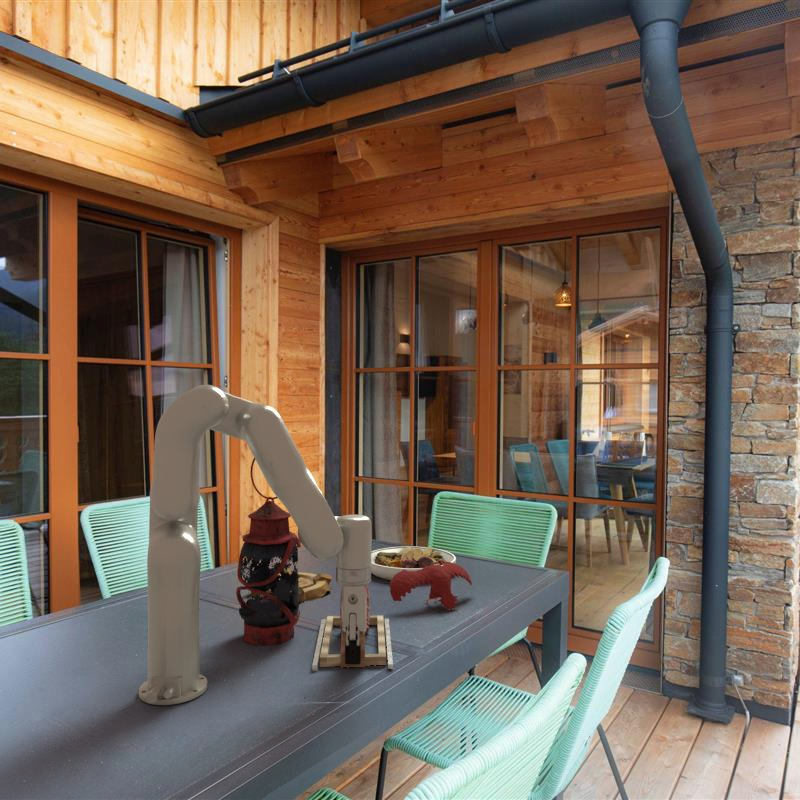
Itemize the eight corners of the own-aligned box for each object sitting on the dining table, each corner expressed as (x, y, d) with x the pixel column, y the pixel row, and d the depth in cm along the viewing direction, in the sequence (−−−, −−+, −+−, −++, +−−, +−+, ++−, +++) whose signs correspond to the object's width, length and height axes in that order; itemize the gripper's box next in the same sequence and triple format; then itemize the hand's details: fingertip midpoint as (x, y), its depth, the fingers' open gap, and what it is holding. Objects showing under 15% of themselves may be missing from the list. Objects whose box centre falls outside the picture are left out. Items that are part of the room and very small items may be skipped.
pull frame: (386, 667, 138) (386, 634, 138) (319, 668, 137) (319, 635, 137) (383, 623, 165) (383, 595, 165) (327, 623, 164) (327, 596, 164)
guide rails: (392, 670, 137) (392, 664, 137) (312, 671, 136) (312, 665, 136) (388, 624, 165) (388, 618, 165) (321, 624, 164) (321, 619, 164)
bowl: (351, 565, 223) (351, 542, 223) (429, 557, 235) (430, 535, 235) (386, 589, 195) (386, 563, 195) (472, 578, 208) (473, 553, 208)
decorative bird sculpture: (478, 612, 187) (455, 566, 196) (495, 596, 182) (470, 549, 190) (399, 632, 171) (377, 581, 179) (415, 616, 165) (392, 564, 173)
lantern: (313, 633, 158) (314, 447, 158) (272, 654, 145) (273, 451, 145) (264, 622, 166) (265, 444, 165) (221, 640, 153) (222, 448, 153)
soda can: (365, 640, 154) (365, 589, 154) (336, 638, 155) (336, 587, 155) (372, 629, 161) (372, 581, 161) (344, 627, 162) (345, 579, 162)
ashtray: (234, 590, 193) (234, 573, 193) (302, 576, 209) (302, 560, 209) (276, 610, 176) (276, 592, 176) (347, 593, 192) (347, 576, 191)
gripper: (371, 584, 131) (370, 676, 131) (371, 564, 147) (370, 645, 148) (333, 585, 131) (333, 676, 131) (337, 564, 147) (337, 645, 147)
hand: (353, 659), depth 139 cm, fingers closed on pull frame, 3 cm apart
